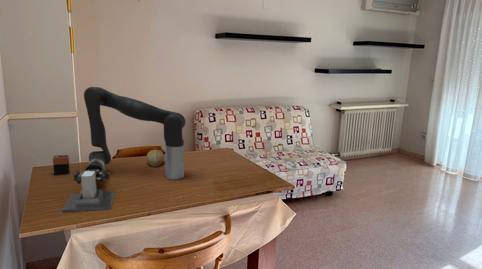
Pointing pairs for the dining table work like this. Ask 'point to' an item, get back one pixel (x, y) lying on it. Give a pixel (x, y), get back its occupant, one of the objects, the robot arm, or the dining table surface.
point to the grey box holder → (89, 202)
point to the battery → (61, 164)
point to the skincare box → (89, 185)
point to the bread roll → (155, 157)
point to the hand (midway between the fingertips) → (89, 181)
